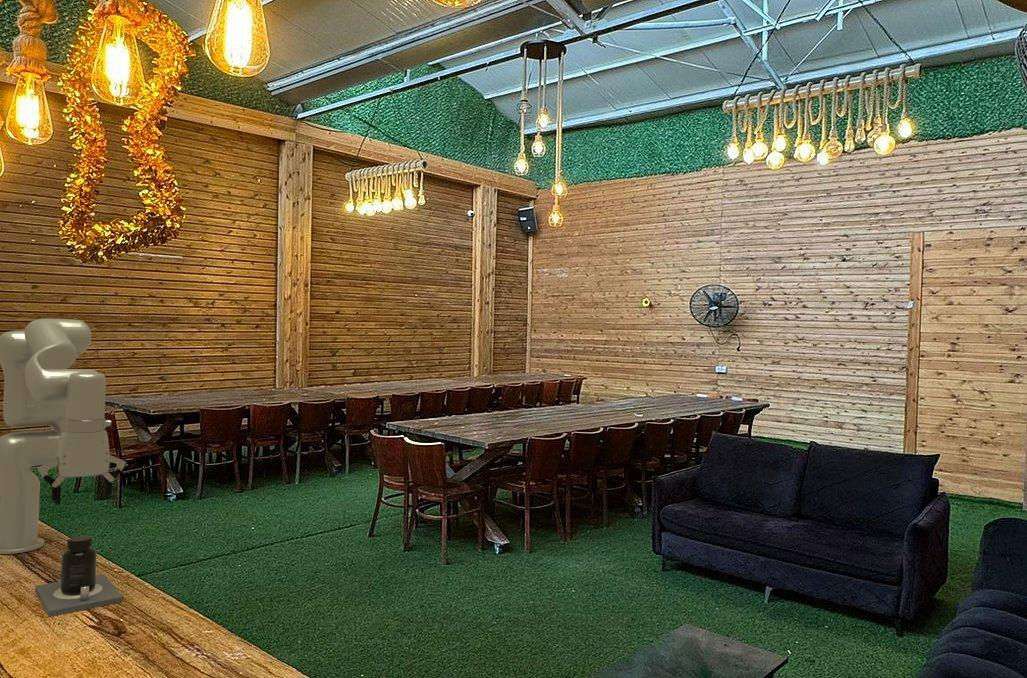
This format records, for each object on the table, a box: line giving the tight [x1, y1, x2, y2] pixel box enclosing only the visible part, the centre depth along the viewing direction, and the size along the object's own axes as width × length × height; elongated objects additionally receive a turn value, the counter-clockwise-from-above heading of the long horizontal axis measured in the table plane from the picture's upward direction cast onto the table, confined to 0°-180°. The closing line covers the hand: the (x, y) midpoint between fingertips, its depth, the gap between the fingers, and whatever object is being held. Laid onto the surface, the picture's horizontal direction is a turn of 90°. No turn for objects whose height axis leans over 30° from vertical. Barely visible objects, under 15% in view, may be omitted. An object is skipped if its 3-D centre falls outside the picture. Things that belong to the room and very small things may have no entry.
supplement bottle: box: [60, 535, 97, 595], centre depth 161 cm, size 7×7×12 cm
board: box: [34, 573, 123, 618], centre depth 161 cm, size 18×14×4 cm
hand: (81, 500), depth 161 cm, fingers open, 9 cm apart
